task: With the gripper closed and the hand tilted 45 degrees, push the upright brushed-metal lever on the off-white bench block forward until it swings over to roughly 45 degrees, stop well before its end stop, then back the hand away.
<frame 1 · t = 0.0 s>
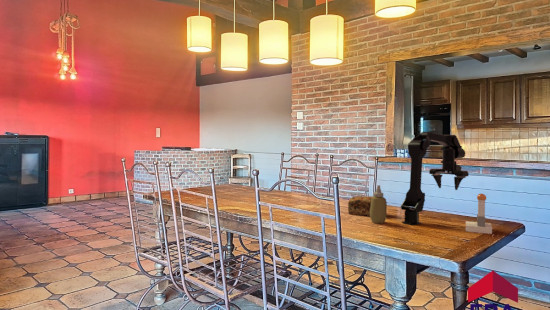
hand: (447, 189, 192), 15 cm above the table, tool pointing down, fingers open, 9 cm apart
bread: (367, 214, 200), on the table
squeeze bottle: (378, 222, 180), on the table
bench block: (480, 230, 165), on the table
lever: (481, 208, 164), point 10 cm above the table, hinge at 0.0°
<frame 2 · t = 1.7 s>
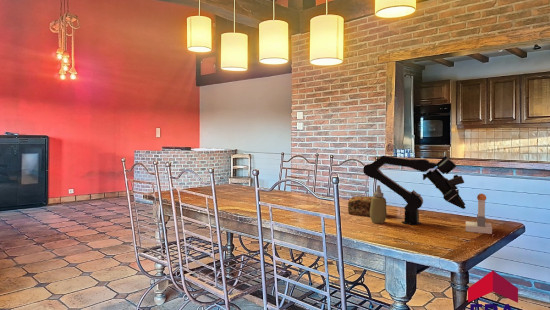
hand: (464, 206, 168), 10 cm above the table, tool tilted 45°, fingers open, 9 cm apart
nothing on the table moved.
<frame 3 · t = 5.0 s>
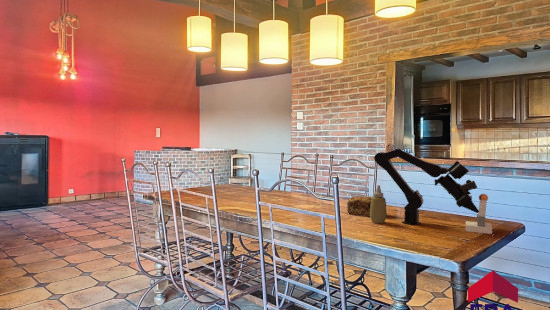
hand: (478, 212, 165), 8 cm above the table, tool tilted 45°, fingers closed, pressing on lever
lever: (482, 208, 164), point 10 cm above the table, hinge at 3.7°, touching gripper
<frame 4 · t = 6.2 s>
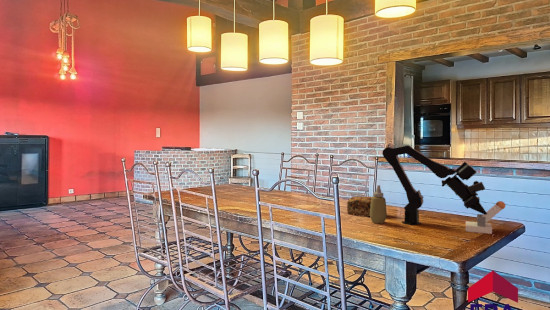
hand: (485, 213, 163), 8 cm above the table, tool tilted 45°, fingers closed, pressing on lever
lever: (491, 213, 162), point 8 cm above the table, hinge at 42.1°, touching gripper
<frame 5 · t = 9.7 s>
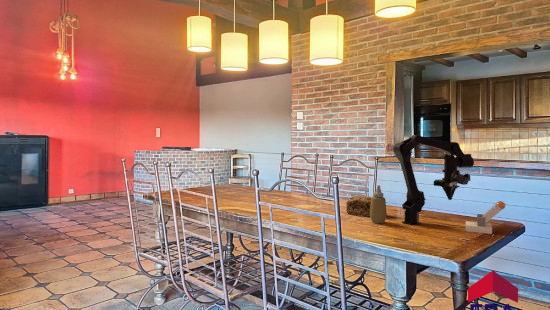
hand: (450, 199, 180), 11 cm above the table, tool pointing down, fingers closed
lever: (491, 213, 162), point 8 cm above the table, hinge at 42.2°
at the end: lever at +42° (first picture: +0°); squeeze bottle moved 0.2 cm from its start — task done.
